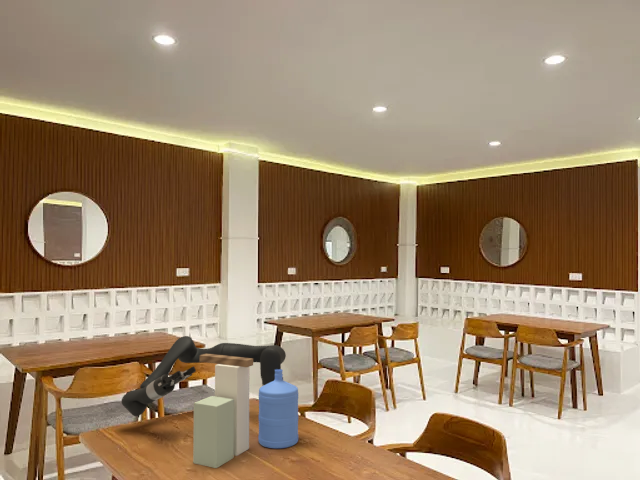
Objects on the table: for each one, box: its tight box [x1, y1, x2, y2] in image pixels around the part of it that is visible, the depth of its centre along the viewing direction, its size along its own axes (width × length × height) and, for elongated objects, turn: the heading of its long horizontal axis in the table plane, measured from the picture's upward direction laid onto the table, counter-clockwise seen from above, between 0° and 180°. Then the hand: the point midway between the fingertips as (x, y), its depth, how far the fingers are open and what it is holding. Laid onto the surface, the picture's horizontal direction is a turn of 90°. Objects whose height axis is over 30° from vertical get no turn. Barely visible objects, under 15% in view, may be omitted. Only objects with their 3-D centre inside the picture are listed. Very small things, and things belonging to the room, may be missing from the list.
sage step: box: [192, 395, 234, 469], centre depth 182 cm, size 10×10×21 cm
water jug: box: [257, 368, 299, 449], centre depth 201 cm, size 16×16×28 cm
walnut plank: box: [200, 354, 254, 368], centre depth 194 cm, size 22×4×2 cm, turn 64°
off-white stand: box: [214, 364, 250, 457], centre depth 192 cm, size 10×8×32 cm
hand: (187, 370), depth 202 cm, fingers open, 8 cm apart
